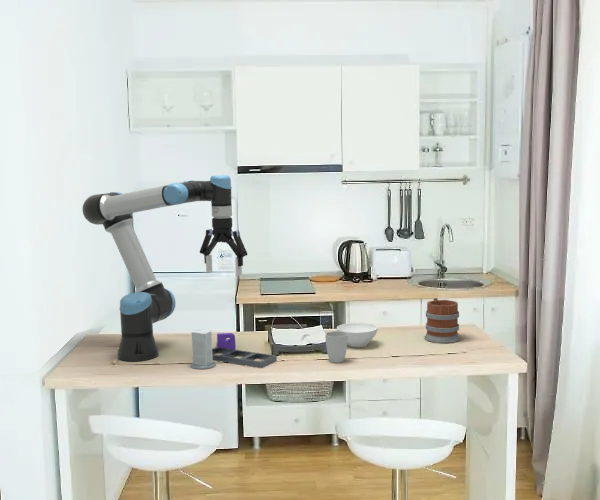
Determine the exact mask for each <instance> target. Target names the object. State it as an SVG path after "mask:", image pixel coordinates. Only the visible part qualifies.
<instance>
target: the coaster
mask: <svg viewBox="0 0 600 500" xmlns="http://www.w3.org/2000/svg"><path fill="white" fill-rule="evenodd" d="M216 366H217V363H216V361H213V363H212V364H210V365H208V366H202V365H194V364H193V362H192V363H190V368H191V369H194V370H208V369H213V368H215V367H216Z"/></svg>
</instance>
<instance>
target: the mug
mask: <svg viewBox="0 0 600 500" xmlns="http://www.w3.org/2000/svg"><path fill="white" fill-rule="evenodd" d="M458 304H459V303H458V302H457V301H456V300H455V301H454V300H449V299H438V297H433V300H428V301H427V302H426V306H427V307H426V311H425V317H426V323H425V329H426V333H425V335H424V339H425V340H426V341H427V342H430V343H432V344H433V343H436V344H453V343H457V342H458V341H460V339H461V337H460V335H459V333H458V331H459V330H460V324H459V322H458V320H459V319H458V318H460V311H459V305H458Z"/></svg>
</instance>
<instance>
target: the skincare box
mask: <svg viewBox="0 0 600 500" xmlns="http://www.w3.org/2000/svg"><path fill="white" fill-rule="evenodd" d="M191 346H192V347H191V348H192V351H191V352H192V363H193V364H194V365H202V366H208V365H210V364H212V363H213V362H214V360H213V357H212V349H213V340H212V331H211V330H203V329H196V330H194V331H191Z"/></svg>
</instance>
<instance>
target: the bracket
mask: <svg viewBox="0 0 600 500" xmlns="http://www.w3.org/2000/svg"><path fill="white" fill-rule="evenodd" d="M216 340H217V342H216V344H217V345H216V347H221V348H228V349H235V350H236V336H235V334H234V333H232V332H221V333H220V332H219V333H216Z"/></svg>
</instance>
